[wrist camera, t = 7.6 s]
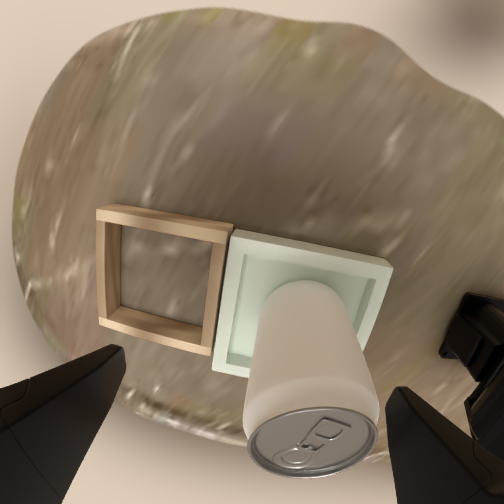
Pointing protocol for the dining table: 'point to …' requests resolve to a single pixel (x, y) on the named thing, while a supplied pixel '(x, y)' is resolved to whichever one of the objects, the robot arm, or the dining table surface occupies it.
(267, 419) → the can
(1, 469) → the robot arm
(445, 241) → the dining table surface
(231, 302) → the tray
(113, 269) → the collar
